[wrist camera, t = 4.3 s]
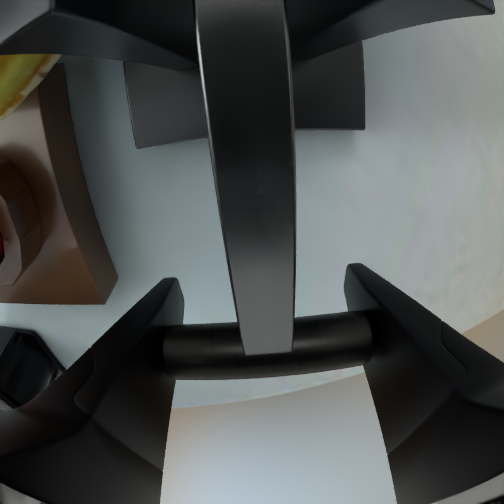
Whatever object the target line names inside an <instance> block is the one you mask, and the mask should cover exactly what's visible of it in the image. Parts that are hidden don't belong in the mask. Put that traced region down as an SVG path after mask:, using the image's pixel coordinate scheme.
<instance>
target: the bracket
mask: <svg viewBox="0 0 504 504" xmlns="http://www.w3.org/2000/svg"><path fill="white" fill-rule="evenodd" d="M286 7H287V17H288V28H289V40H290V52H291V66H292V82H293V100H294V122H295V130H365V81H364V61H363V47H362V40H365V39H368V38H371V37H375V36H378V35H381V34H385V33H389V32H392V31H396V30H400V29H404V28H408V27H412V26H416V25H421V24H426V23H431V22H436V21H442V20H448V19H454V18H462V17H470V16H480V15H493V14H495V7H494V2H493V0H286ZM17 54H62V55H79V56H91V57H100V58H109V59H116V60H123V66H124V75H125V83H126V90H127V98H128V104H129V111H130V117H131V123H132V129H133V135H134V140H135V146H136V148H137V149H140V148H145V147H151V146H156V145H161V144H167V143H173V142H179V141H186V140H193V139H200V138H207V137H208V134H207V127H206V119H205V112H204V104H203V96H202V88H201V80H200V71H199V63H198V54H197V45H196V35H195V26H194V16H193V5H192V0H0V56H1V55H17Z"/></svg>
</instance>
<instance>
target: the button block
mask: <svg viewBox="0 0 504 504" xmlns="http://www.w3.org/2000/svg"><path fill="white" fill-rule="evenodd" d="M0 231H1V233H2V235H3V244H4V250H3V253H2V255H1V257H0V303H21V304H60V305H104V304H106V302H107V300H108V298H109V296H110V294H111V292H112V290H113V288H114V286H115V284H116V282H117V281H118V277H117V275H116V272H115V270H114V267H113V265H112V262H111V260H110V257H109V254H108V252H107V249H106V246H105V243H104V241H103V238H102V235H101V232H100V229H99V226H98V223H97V220H96V217H95V214H94V210H93V207H92V204H91V201H90V197H89V194H88V190H87V187H86V183H85V179H84V176H83V172H82V168H81V164H80V160H79V155H78V151H77V146H76V142H75V137H74V132H73V127H72V121H71V116H70V110H69V103H68V97H67V89H66V81H65V72H64V64H63V63H55V64H54V66H53V67H52V68H51V70H50V71H49V73H48V74H47V75H46V77H45V78H44V79H43V80H42V81H41V82H40V83H39V85H38V86H37V87H36V88H35V89H33V90H32V91H31V92H30V93H29V95H28V96H27V97H26V98H25V100H24V101H23V102H22V103H21V105H20V106H19V107H18V108H17V109H15V110H14V111H13V113H11V114H10V115H9V116H7V117H6V118H5V119H3V120H2V121H1V122H0Z"/></svg>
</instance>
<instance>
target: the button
mask: <svg viewBox="0 0 504 504" xmlns="http://www.w3.org/2000/svg"><path fill="white" fill-rule="evenodd" d="M3 250H4V244H3V235H2V233H1V231H0V257H1V255H2V253H3Z"/></svg>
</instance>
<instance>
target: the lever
mask: <svg viewBox="0 0 504 504" xmlns="http://www.w3.org/2000/svg"><path fill="white" fill-rule="evenodd" d="M192 5H193V16H194V26H195V35H196V45H197V54H198V63H199V71H200V80H201V88H202V96H203V104H204V112H205V119H206V127H207V134H208V141H209V149H210V156H211V163H212V170H213V176H214V183H215V190H216V196H217V203H218V209H219V216H220V222H221V228H222V235H223V241H224V247H225V253H226V259H227V265H228V271H229V277H230V282H231V288H232V294H233V299H234V305H235V311H236V316H237V322H230V323H210V324H182V325H169V326H167V327H166V328H165V330H164V333H163V336H162V343H161V356H162V363H163V367H164V370H165V373H166V374H167V376H168V377H169V378H171V379H174V380H228V379H251V378H266V377H279V376H290V375H299V374H308V373H316V372H323V371H330V370H337V369H343V368H349V367H355V366H361V365H366V364H367V363H369V362H370V361H371V359H372V356H373V350H374V335H373V329H372V325H371V321H370V319H369V317H368V315H367V313H366V312H365V311H362V310H355V311H348V312H340V313H332V314H324V315H315V316H305V317H295V318H294V316H295V286H296V152H295V122H294V100H293V82H292V66H291V52H290V40H289V28H288V17H287V7H286V0H192Z"/></svg>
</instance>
